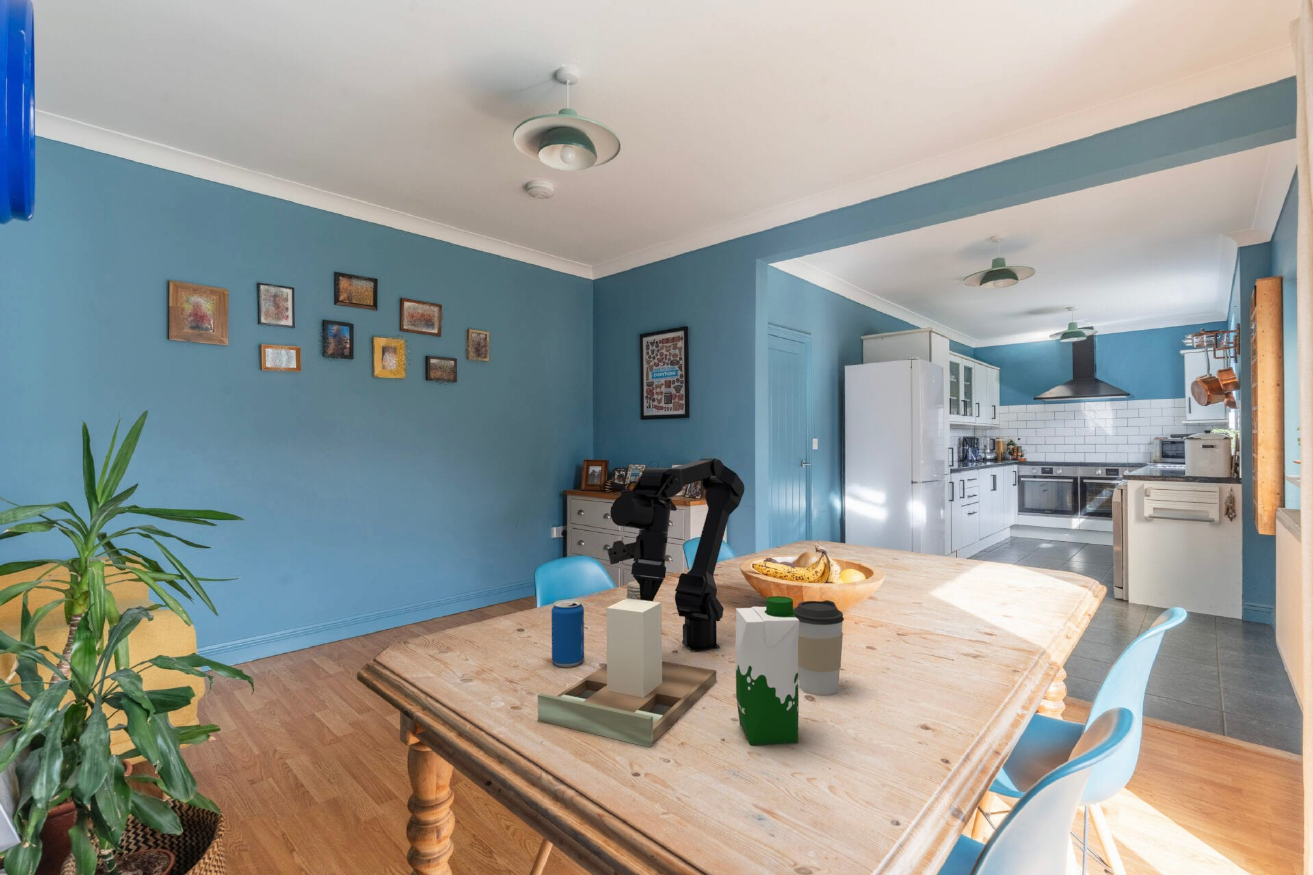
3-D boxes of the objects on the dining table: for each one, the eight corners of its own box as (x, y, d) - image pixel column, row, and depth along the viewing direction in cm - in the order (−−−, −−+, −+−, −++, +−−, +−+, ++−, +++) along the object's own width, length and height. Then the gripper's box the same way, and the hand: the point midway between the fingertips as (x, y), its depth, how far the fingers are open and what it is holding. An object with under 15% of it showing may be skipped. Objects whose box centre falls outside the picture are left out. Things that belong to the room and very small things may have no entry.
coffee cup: (816, 701, 101) (815, 612, 101) (782, 683, 109) (781, 600, 109) (856, 691, 105) (854, 605, 105) (819, 674, 113) (818, 594, 113)
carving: (638, 640, 134) (637, 586, 134) (618, 632, 140) (618, 581, 140) (660, 634, 138) (659, 582, 138) (640, 627, 144) (639, 577, 144)
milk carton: (806, 745, 86) (804, 606, 87) (744, 748, 85) (742, 608, 86) (787, 718, 95) (786, 591, 95) (731, 721, 94) (730, 593, 95)
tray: (622, 664, 119) (621, 644, 119) (716, 681, 110) (716, 659, 110) (537, 720, 95) (537, 695, 95) (649, 747, 86) (649, 719, 86)
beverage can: (578, 669, 117) (577, 607, 117) (546, 667, 118) (546, 606, 118) (588, 657, 123) (588, 599, 124) (558, 656, 125) (558, 598, 125)
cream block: (627, 676, 108) (626, 598, 108) (662, 682, 105) (661, 602, 105) (607, 690, 102) (606, 607, 102) (643, 697, 99) (642, 612, 99)
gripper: (615, 527, 127) (606, 603, 124) (609, 524, 109) (598, 613, 106) (668, 533, 127) (659, 609, 124) (670, 531, 109) (660, 620, 106)
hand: (644, 612), depth 115 cm, fingers closed
